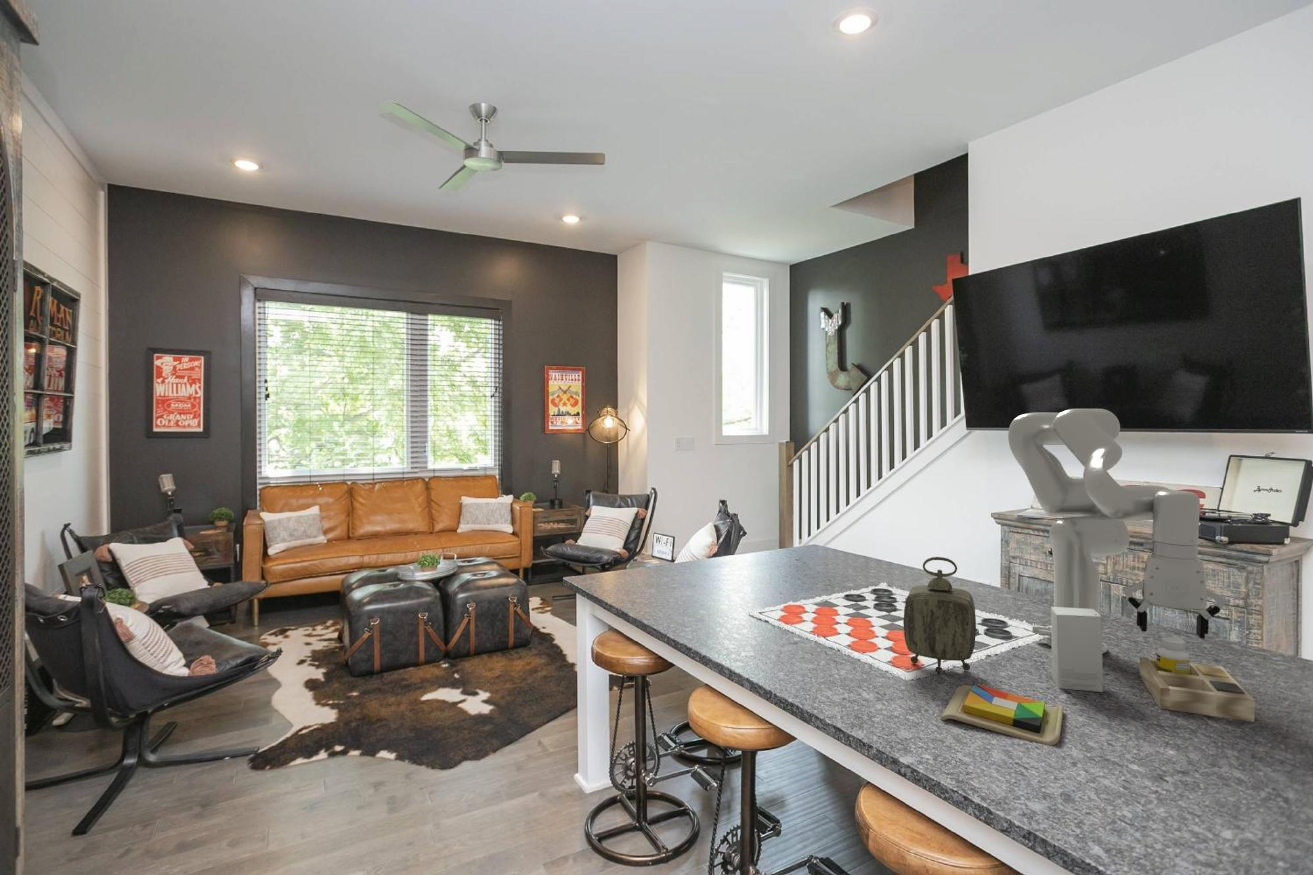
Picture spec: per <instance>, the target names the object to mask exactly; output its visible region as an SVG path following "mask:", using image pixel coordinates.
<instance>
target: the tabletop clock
mask: <svg viewBox="0 0 1313 875" xmlns="http://www.w3.org/2000/svg"><path fill="white" fill-rule="evenodd" d="M933 561H942V562H943V561H945V562H947V563H950V564H951V565H953V567H954V570H953V571H952V572H948V573H943V570H941V569H937V572H933V571H930V570H929V569H926V564H928V563H929V562H933ZM922 569H923V571H924V572H925V573H927V574H929V575H931V576H933V577H932V578H931V579H930V580H929V581H928V583H927V584H926V585H916V586H913V587H911V589H910V590H909V593H908V595H907V597H906V600H905V604H904V610H903V620H902V621H903V635H904V641H905V645H906V648H907V650H908V652H910V653H912V654H914V655H913V656H911V657H910V662H911V663H912V664H917V663H918V662H919V656H920V657H924V658H929V659H933V660H937V666H936V667H935V669H934V672H935V674H937V675H942V674H944V670H943V668H942V667H941V666H942V664H941V663H942V661H957V662H958V661H959V662H961V663H962V665H961V666H962V669H963V670H964V671H969V670H970V669H971V665H970V664H969V663H968V662H966V661H965V660H971V657H972V655H973V653H974V650H975V646H976V645H975V644H976V633H977V619H976V618H977V617H976V607H975V606H976V605H975V602H974V601H975V600H974V598H973V596H972V594H971V592H969V591H967V590H964V589H962V588H957V587H952V586H953V585H952V584H951V582H950V580H948V579H947V578H946V577H951V576H953V575H955V574H956V573H957V571H958V565H957V564H956V563H955V562H954V561H953V560H951V559H950V558H946V557H944V556H943V557H942V556H933V557H930V558H927V559H925V560H924V562H923V564H922Z"/></svg>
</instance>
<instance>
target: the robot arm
mask: <svg viewBox="0 0 1313 875" xmlns="http://www.w3.org/2000/svg"><path fill="white" fill-rule="evenodd" d="M1120 431H1121V424H1120V421H1119V419H1118V417H1117V416H1116V415H1115V413H1113V412H1111V411H1110V410H1107V409H1104V408H1069V409H1066V410H1064V411H1061V412H1028V413H1024V414H1020V415H1018V416H1017V417H1015V418H1014V419H1013V420H1012V421H1011V423H1010V424H1009V428H1008V432H1007V433H1008V434H1007V436H1008V437H1007V438H1008V445H1009V448H1010V451H1011V453H1012V455H1013V456H1014V458H1015V460H1016V461H1017V463H1018V464H1019V466H1020V467H1021V469H1022V470H1023V472H1024V474H1025V476H1026V478H1027V480H1028V483H1029V485H1030V486H1031V488H1032V490H1033V492H1034V494H1035V496H1036V497H1035V498H1036V499H1037V501H1038V503H1039V504H1040V506H1041V508H1042V510H1043V511H1044V512H1045V513H1046V514H1047V515H1049V516H1052V517H1062V518H1060V519H1057V520H1056V521H1055V522H1053V523H1052V525H1051V526H1050V529H1049V534H1048V536H1049V544H1050V548H1051V553H1052V559H1053V560H1052V561H1053V607H1065V608H1086V609H1094V610H1095V611H1096V612H1097V613H1098V614H1099V615H1101V614H1100V610H1101V607H1100V606H1101V604H1100V602H1101V599H1100V598H1101V595H1100V594H1101V593H1100V592H1101V589H1100V588H1101V581H1100V580H1101V579H1100V578H1101V577H1100V572H1099V570H1098V568H1097V566H1096V564H1095V563H1094V560H1093V558H1092V557H1097V556H1100V557H1101V556H1115V555H1119V554H1122V553H1123V552H1125V551H1126V550H1127V549H1128V547H1129V545H1130V532H1129V530H1128V529H1129V528H1128V527H1127V525H1126V523H1125V522H1129V521H1130V522H1131V521H1132V522H1133V521H1134V522H1135V521H1136V522H1137V521H1138V522H1139V521H1144V522H1145V521H1147V522H1148V521H1152V536H1151V538H1152V539H1151V540H1150V542H1147V543H1146V542H1144V543H1143V550H1148V551H1150V554H1147V556H1146V557H1147V558H1146V559H1145V564H1144V569H1143V570H1144V571H1143V577H1142V580H1141V581H1139V582H1135V583H1132V584H1130V585H1127V586H1124V587H1122V588H1121V590H1122V592H1123V594H1124V596H1125V598H1126V600H1127V601H1128V603H1129V604H1130V605H1131V606H1132V607H1134V609H1136V626H1137V627H1139V629H1140V630H1141V632H1143V633H1144V632H1147V630H1148V612H1146V610H1147V609H1149V607H1151V606H1154V607H1162V608H1168V609H1169V608H1171V609H1179V610H1190V611H1197V612H1198V615H1197V616H1196V625H1195V626H1196V630H1195V633H1196V635H1197V637H1198V638H1200V640H1201V639H1203V640H1205V637H1206V635H1208V634H1209V620H1211V619H1212V617H1213V616H1216V615H1217V614H1218V613H1220V611H1221V609H1222V608H1223V607H1225V605H1226V603H1227V601H1228V600H1227V598H1225V597H1224V596H1222V595H1220V594H1218V593H1216V592H1214V591H1212V590H1210V589H1209V588H1207V584H1206V582H1207V581H1206V572H1205V564H1204V561H1203V560H1201V559H1200V558H1199V536H1200V535H1199V532H1200V531H1199V530H1200V510H1201V508H1200V507H1201V503H1200V501H1201V499H1200V497H1199V495H1198V494H1196V493H1195V492H1192V491H1187V490H1180V489H1179V490H1176V489H1172V488H1171V489H1170V488H1168V487H1165V486H1161V485H1153V484H1152V485H1148V484H1147V485H1141V484H1139V485H1120V484H1119V483H1118V482H1117V481H1116V480H1115V479H1114V478H1113V477H1112V475H1110V473H1109V472H1108V471H1109V470H1110V469H1112V468H1113V467H1115V466H1116V465H1117V464H1118V463H1119V461H1120V460H1121V458H1122V456H1123V449H1122V447H1121V446H1120V444H1119V443H1117V441H1115V440H1116V438H1117V437H1118V436H1119V434H1120ZM1044 446H1065V447H1067V449H1068V450H1069V451H1070V452H1071V453H1072V454H1073V456H1074V457H1075V458H1076V459H1077V460H1078V462H1079V463H1080V464H1081V465H1082V466H1083V467H1084V469H1083V476H1082V477H1081V478H1073V477H1070V476H1069V475H1068V474H1067V472H1066V470H1065V468H1064V467H1063V465H1062V463H1061V461H1060V460H1059V459H1058V458H1057V456H1056V455H1054V454H1053V453H1052V452H1051V451H1049V449H1046V447H1044ZM1138 591H1141V597H1142V598H1141V599H1140V600H1139V601H1138V600H1137V599H1136V598H1135V597H1134V595H1133V593H1135V592H1138ZM1207 597H1208V598H1210V599H1212V600H1214V602H1213V603H1212V605H1210V606H1208V607H1207ZM1031 631H1032V634H1038V636H1043V637H1044V636H1046V639H1045V640H1046V642H1045V643H1046V645H1048V646H1050V647H1051V648H1052V639H1051V625H1046V626H1043V625H1042V626H1041V625H1036V624H1032V630H1031ZM1107 652H1108V645H1107V644H1105V643H1104V642H1102V655H1104V654H1105V653H1107Z"/></svg>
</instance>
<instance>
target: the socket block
mask: <svg viewBox="0 0 1313 875" xmlns="http://www.w3.org/2000/svg"><path fill="white" fill-rule="evenodd" d="M1139 677H1140V678H1141V680H1142V682H1143V683H1144V685H1145V687H1146V688H1147V690H1148V691H1149V693H1150V694H1152V695H1151V696H1152V698H1153V699H1154V701H1155V703H1156V704H1157V706H1158V708H1159V709H1163V710H1170V711H1176V712H1183V713H1191V714H1196V715H1197V714H1198V715H1204V716H1211V717H1218V718H1224V719H1230V720H1236V721H1237V720H1239V721H1247V722H1251V723H1254V722H1255V712H1256V711H1255V699H1254V697H1252V696H1251V695H1250V694H1249V692H1247V691H1246V690H1245V688H1243V687H1242V686H1241V684H1239V682H1238V681H1237V680H1236V679H1234V677H1232V676H1231V674H1230V673H1229V672H1228V671H1227V670H1225V668H1224V667H1223V666H1218V665H1209V664H1202V663H1200V664H1199V663H1194V662H1193V663H1192V662H1190V675H1186V674H1178V673H1170V672H1162V671H1157V658H1150V657H1142V656H1140V657H1139Z"/></svg>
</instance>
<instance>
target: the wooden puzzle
mask: <svg viewBox="0 0 1313 875" xmlns="http://www.w3.org/2000/svg"><path fill="white" fill-rule="evenodd" d="M1063 716H1064V705H1062V704H1058V705H1056V706H1053V707H1052V706H1048V705H1046V701H1040V700H1035V699H1032V698H1029V697H1025V696H1022V695H1021V696H1020V695H1018V694H1017V695H1016V694H1013V693H1010V692H1009V693H1008V692H1006V691H1002V690H999V689H997V688H996V689H995V688H992V687H989V686H986V685H981V684H978V683H976V684H973V685H972V686H971V685H968V684H967V685H966V684H964V685H960V686H959V687H958V688H956V690H955V691H954V693H953V694H952V697H951V699H950V701H949V702H948V703H947V706H946V708H945V709H944V711H943V713H942V714H941V716H940V720H941V721H946V720H955V721H959V722H963V723H964V724H969V725H972V726H975V727H979V728H983V729H986V730H990V731H993V732H997V733H1000V734H1003V735H1006V736H1009V737H1014V738H1016V739H1022V740H1026V741H1029V742H1033V743H1038V744H1042V745H1047V746H1054V745H1056V744H1057V743H1058V742H1059V741H1060V739H1061V731H1062V723H1063Z"/></svg>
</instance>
